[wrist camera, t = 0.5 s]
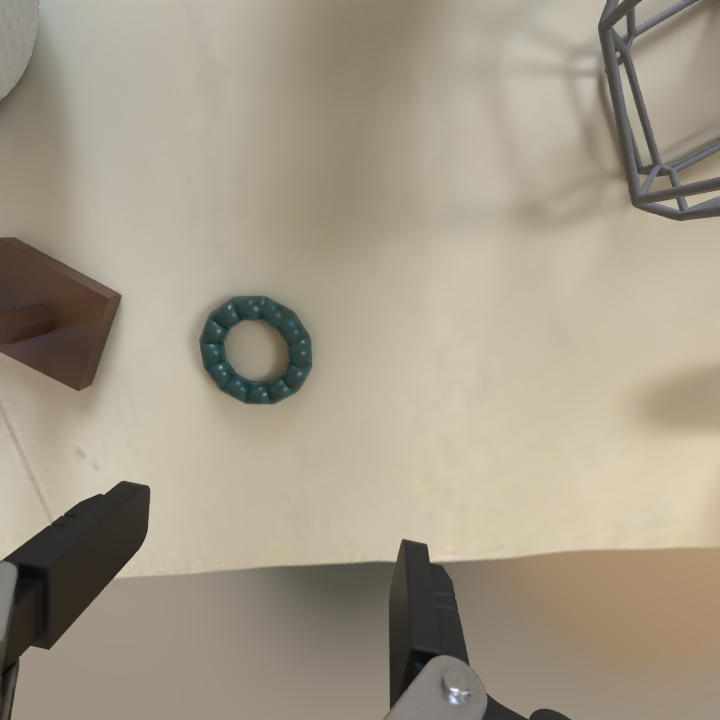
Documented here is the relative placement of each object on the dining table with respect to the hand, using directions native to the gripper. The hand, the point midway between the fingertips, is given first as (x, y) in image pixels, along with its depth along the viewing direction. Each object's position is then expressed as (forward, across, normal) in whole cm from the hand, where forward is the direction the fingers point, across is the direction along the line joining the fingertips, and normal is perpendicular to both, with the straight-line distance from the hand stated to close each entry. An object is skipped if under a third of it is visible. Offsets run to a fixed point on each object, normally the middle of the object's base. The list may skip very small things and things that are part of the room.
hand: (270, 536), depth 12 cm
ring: (+19, +7, -1) cm, 20 cm away
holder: (+20, +24, 0) cm, 31 cm away
